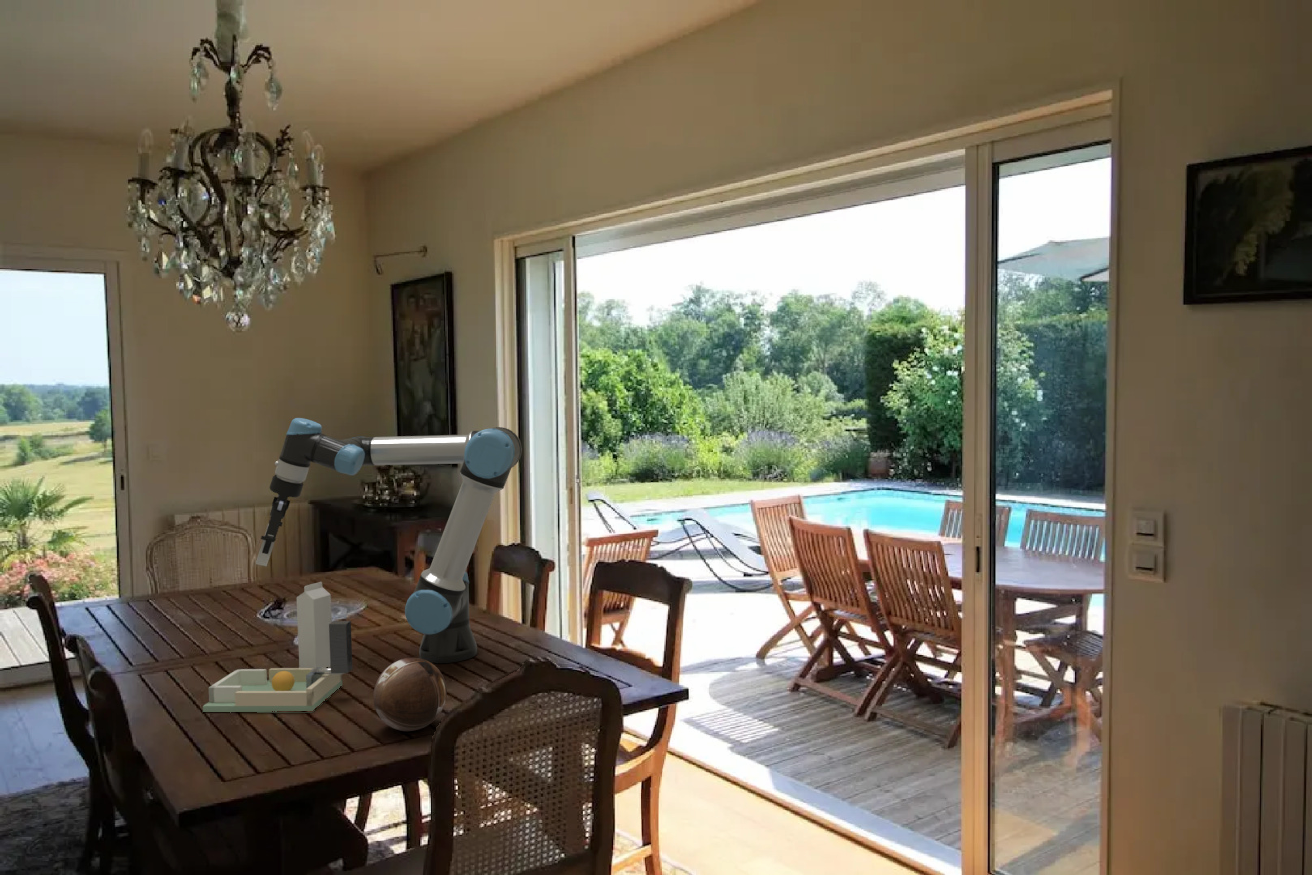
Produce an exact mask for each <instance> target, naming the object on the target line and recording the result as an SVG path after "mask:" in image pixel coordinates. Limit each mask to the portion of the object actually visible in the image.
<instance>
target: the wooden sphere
mask: <svg viewBox="0 0 1312 875" xmlns="http://www.w3.org/2000/svg"><path fill="white" fill-rule="evenodd" d="M447 691H448V690H447V683H446V679H445V677H444V675H443V674H442V672H441V670H440V669H439V668H438V667H437V666H436V665H435V664H434V663H431V662H429V661H426V660H424V659H420V657H405V658H401V659H399V660H397V661H394V662H393V663H391V664H389V665H388V666H387V667H386V668H385V669H384V670H383V671H382V672H381V673H380V675H379V676H378V678H377V680H376V682H375V685H374V688H373V698H372V699H373V705H374V708H375V711H376V713H377V715H378V717H379V718H380V719H381V721H382V722H383V723H385V724H386V725H387V726H389V727H390V728H392V729H394V730H397V731H400V732H414V731H418V730H421V729H423V728H426V727H428V726H429V725H430V724H432V723H433V722H435V720H437V718H438V717H439V716H440V714H441V713H442V711H443V709H444V707H445V704H446V701H447V694H448V692H447Z"/></svg>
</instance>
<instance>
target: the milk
mask: <svg viewBox="0 0 1312 875" xmlns="http://www.w3.org/2000/svg"><path fill="white" fill-rule="evenodd" d="M303 589H304V592H302V593H300V594H299V595H298V596H296V615H297V616H296V618H297V639H298V640H297V641H298V645H297V646H298V662H299V663H298V668H316V667H321V668H326V667H328V668H331V666H330V640H329V624H330V623H332V622H333V620H332V618H333V617H332V616H333V615H332V596H331V595H332V594H331V593H330V592H329V591H328V590H327V589H325V588H324V587H323V582H322V581H319V582H316V583H314V582H313V583H311V584H307V585H305V586H304V587H303Z"/></svg>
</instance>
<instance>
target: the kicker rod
mask: <svg viewBox="0 0 1312 875" xmlns="http://www.w3.org/2000/svg"><path fill="white" fill-rule="evenodd" d="M329 640H330V666H331V667H328V668H321V667H316V668H313V669H311V672H310V673H309V674H307V675H306V688H308V687H309V686H311V685H312V684H313V683H314V682H316V681H317V680H318V679H319V678H321V677H322V674H342V675H343V674H348V673H350V672H351V671H352V670H353V645H352V620H332V623H330V624H329Z"/></svg>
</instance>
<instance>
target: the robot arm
mask: <svg viewBox="0 0 1312 875" xmlns="http://www.w3.org/2000/svg"><path fill="white" fill-rule="evenodd" d="M322 429H323V427H322V424H320V423H318V422H316V421H314V420H311V419H307V418H303V417H295V418H293V419H292V420H291V422H290V424H289V427H288V429H287V432H286V434H285V437H284V440H283V445H282V448H281V452H280V454H279V457H278V461H275V462H274V465H275V466H276V467H275V471H274V475H272V479H271V482H270V485H269V490H270V491H271V492H273V493H274V494H277V496H273V501H272V503H271V510H270V513H269V517H270V518H269V521H268V524H267V526H266V530H265V532H264V535H261V536H260V540H262V543H261V545H260V549H259V551H258V554H257V558H256V561H255V563H254V564H255V565H257V566H258V565H259V566H263V567H268V562H269V561H270V557H271V555H272V551H273V548H274V546H275V545H274V544H275V541H276V539H277V538H276V537H277V535H278V532H279V529H280V527H281V528H282V526H283V522H282V520H283V519H284V518H285V516H286V513H287V511H288V509H289V508H290V507H289V506H290V503H291V500H289V499H288V498H299V497H300V496H301V493H302V490H303V488H304V482H305V481H306V480H307V476H308V473H309V470H310V467H311V466H310V465H311V463H314V464H317V465H320V466H322V467H325V468H327V469H331V470H333V471H336V472H338V473H340V474H345V475H348V476H355V475H356V474H357V473H358V472H359V471H360V470H361V468H362V466H363V467H364V466H365V467H366V466H389V465H390V466H394V465H395V466H396V465H398V466H399V465H400V466H401V465H405V466H406V465H438V464H439V465H449V464H452V465H453V464H461V465H462V466H461V468H460V471H459V474H460V477H461V479H462V481H461V482H462V483H461V485H460V488H459V491H458V494H457V495H456V499H455V502H454V504H453V506H452V509H451V511H450V514H449V517H448V520H447V522H446V524H445V526H444V530H443V532H442V535H441V538H440V540H439V543H438V545H437V549H436V551H435V554H434V556H433V559H432V562H431V564H430V567H429V568H427V569H425V570H423V571H422V572H421V573H420V575H419V578H418V581H417V584H416V585H415V586H416V587H414V591H413V593H411V595H410V596H409V598H407V601H406V604H405V606H404V615H405V618H406V619H405V620H406V621H407V623H408V624H409V626H410V627H411V628H412V629H413V630H415V631H416V632H418V633H420V634H423V636H422V639H421V642H420V646H419V650H418V652H419V658H420V659H424V660H426V661H429V662H430V663H432V664H450V663H457V662H463V661H468V660H469V659H472V658H474V657H475V656H476V655H478V645H477V642H476V639H475V636H474V634H473V630H472V629H471V625H470V593H469V584H470V580H469V576H468V572H467V569H468V568H467V567H468V566H469V563H470V560H471V557H472V554H473V552H474V550H475V548H476V544H477V541H478V539H479V536H480V534H481V533H482V532H481V531H482V528H483V526H484V523H485V520H486V518H487V516H488V513H489V510H490V508H491V505H492V502H493V500H494V497H495V495H496V493H497V492H499V491H501V490H503V489H504V488H505V485H506V483H507V481H508V478H509V476H510V472H511V470H512V468H514V467H515V466H516V465H517V464H518V463H519V461H520V459H521V456H522V450H523V448H522V443H521V439H520V438H519V436H518V435H517V434H516V433H515V432H514V431H513V430H510V428H506V427H500V426H499V427H498V426H497V427H492V428H485V429H482V430H471V431H470V432H469V433H468V434H447V435H446V434H444V435H439V434H438V435H412V436H411V435H405V436H403V435H401V436H373V437H372V436H368V437H367V436H353V437H351V438H350V437H349V438H345V439H337V438H335V437H332V436H328V435H326V434H323V433H322Z"/></svg>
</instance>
